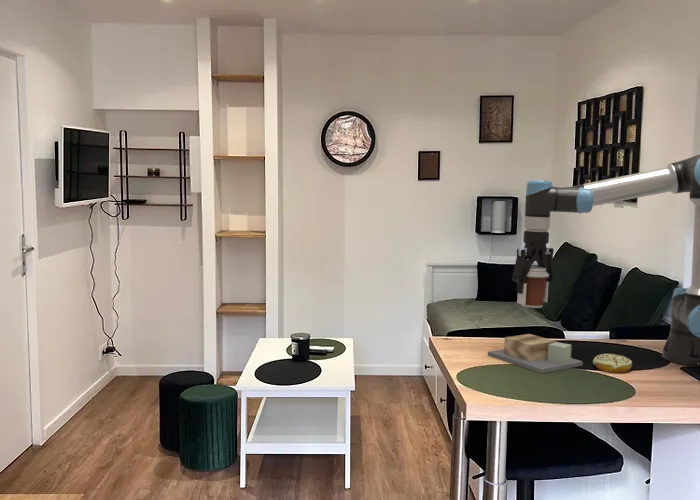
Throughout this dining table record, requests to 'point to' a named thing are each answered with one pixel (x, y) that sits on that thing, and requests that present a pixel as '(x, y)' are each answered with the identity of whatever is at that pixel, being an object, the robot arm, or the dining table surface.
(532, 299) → the coffee cup
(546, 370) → the build board
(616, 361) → the decorated donut
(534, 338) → the oak plinth
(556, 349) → the sage cube
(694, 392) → the dining table surface
